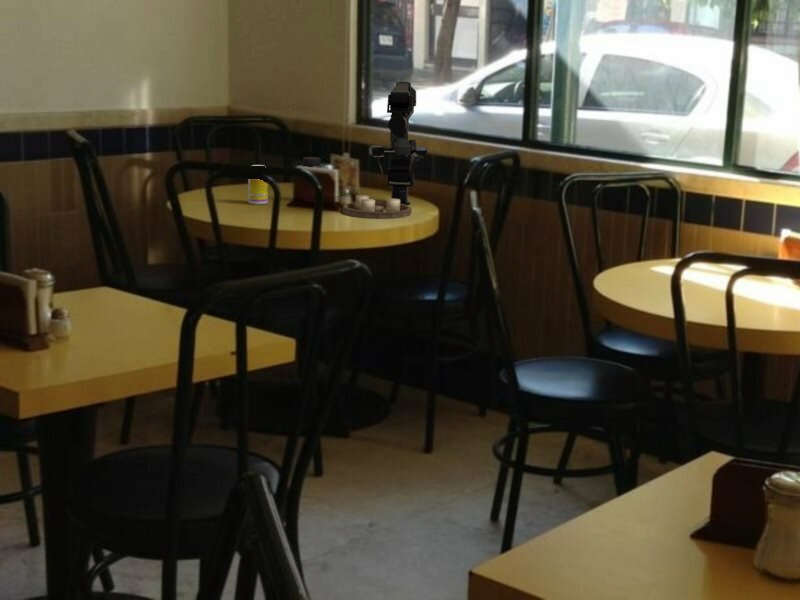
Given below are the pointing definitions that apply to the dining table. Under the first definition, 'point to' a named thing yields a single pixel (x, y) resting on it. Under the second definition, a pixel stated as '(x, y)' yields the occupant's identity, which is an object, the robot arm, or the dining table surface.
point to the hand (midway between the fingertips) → (397, 176)
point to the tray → (379, 214)
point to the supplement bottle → (257, 191)
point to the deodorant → (311, 161)
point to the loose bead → (358, 201)
